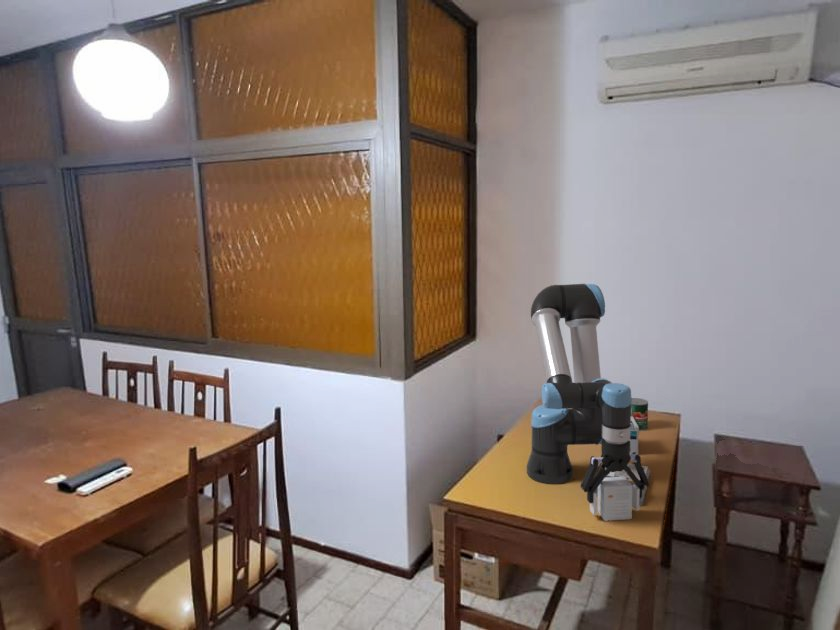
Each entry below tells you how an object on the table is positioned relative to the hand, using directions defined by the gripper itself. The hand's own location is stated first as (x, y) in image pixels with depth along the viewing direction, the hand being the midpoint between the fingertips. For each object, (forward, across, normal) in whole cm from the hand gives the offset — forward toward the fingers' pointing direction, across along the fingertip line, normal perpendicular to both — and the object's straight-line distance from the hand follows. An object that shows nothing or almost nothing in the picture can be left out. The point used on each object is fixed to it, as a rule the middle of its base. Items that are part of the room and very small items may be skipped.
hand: (614, 510), depth 152 cm
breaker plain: (-2, +5, +14) cm, 15 cm away
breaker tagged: (-2, +10, +10) cm, 14 cm away
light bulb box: (+2, +25, +41) cm, 48 cm away
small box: (+2, 0, 0) cm, 2 cm away
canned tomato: (+1, +39, +59) cm, 71 cm away
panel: (+1, +11, +16) cm, 19 cm away
